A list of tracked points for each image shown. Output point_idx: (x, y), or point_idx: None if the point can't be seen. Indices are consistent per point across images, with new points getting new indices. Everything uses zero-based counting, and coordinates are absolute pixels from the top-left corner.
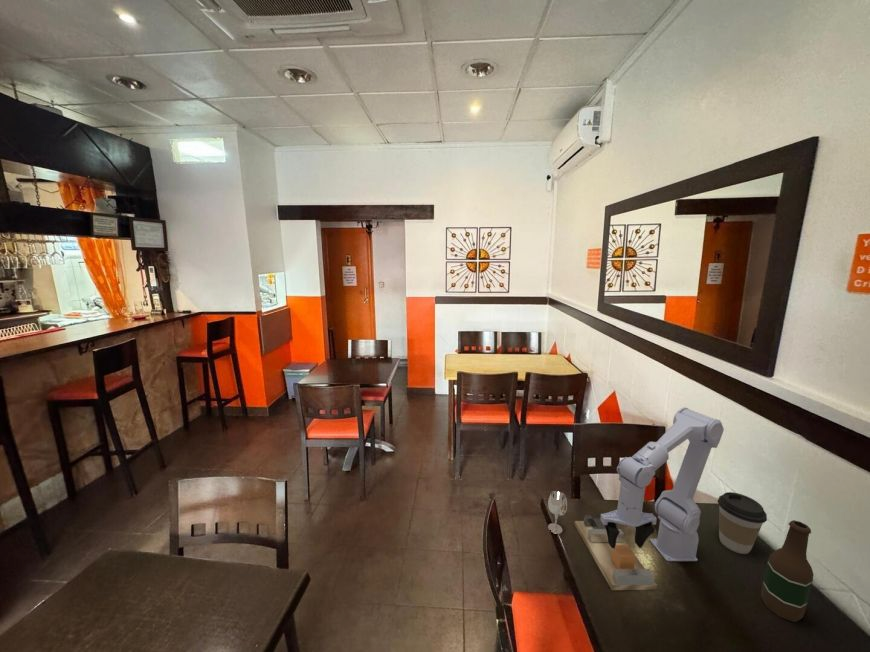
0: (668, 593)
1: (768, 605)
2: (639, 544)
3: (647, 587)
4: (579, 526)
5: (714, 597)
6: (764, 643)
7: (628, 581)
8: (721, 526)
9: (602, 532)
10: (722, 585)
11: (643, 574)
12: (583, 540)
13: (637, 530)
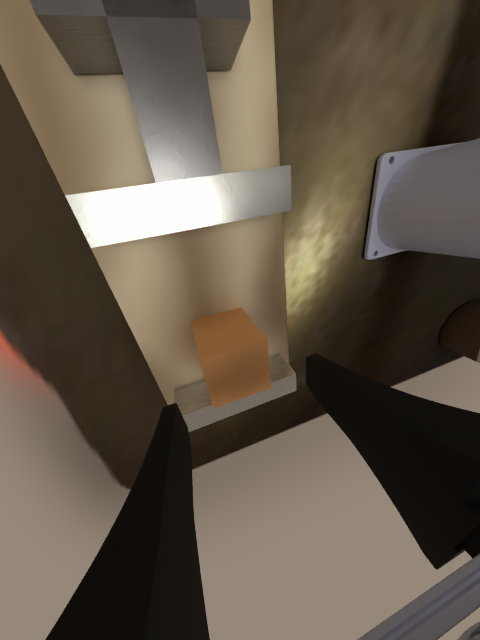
0: (302, 357)
1: (447, 335)
2: (316, 395)
3: None
4: (20, 74)
5: (381, 336)
6: None
7: None
8: None
9: (169, 217)
10: (419, 302)
11: (266, 399)
12: None
13: (370, 415)
